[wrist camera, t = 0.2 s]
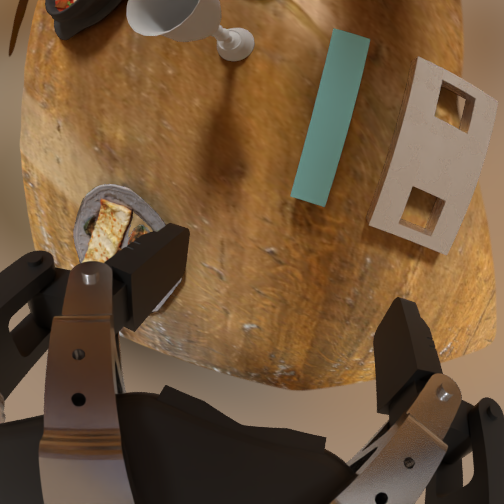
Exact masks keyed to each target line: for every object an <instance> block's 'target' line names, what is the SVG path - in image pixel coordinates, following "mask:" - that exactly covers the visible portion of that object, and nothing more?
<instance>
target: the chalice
mask: <svg viewBox="0 0 504 504" xmlns="http://www.w3.org/2000/svg"><path fill="white" fill-rule="evenodd" d="M127 19H128V22H129V25H130V26H131V27H132V28H133V29H134V31H135V32H137V33H140V34H142V35H144V36H157V35H163V36H165V37H168V38H170V39H173V40H175V41H180V42H189V41H195V40H200V39H204V38H206V37H208V36H210V35H211V36H213V37H215V38H216V39H217V50H218V53H219V55H220V56H221V57H222V58H224V59H226V60H228V61H239V60H242V59H244V58H246V57H247V56H248V55H250V53H251V52H252V50H253V47H254V38H253V36H252V34H251V33H250V32H249V31H247V30H245V29H243V28H232V29H225V28H222V26H221V25H220V21H221V7H220V2H219V0H128V4H127Z"/></svg>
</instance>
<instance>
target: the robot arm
mask: <svg viewBox="0 0 504 504" xmlns="http://www.w3.org/2000/svg"><path fill="white" fill-rule="evenodd" d="M189 236H190V232H189V229H188V228H185V227H182V226H179V225H176V224H172V223H169V224H167V225H166V226H164V227H163V228H162V229H160V230H159V231H157V232H156V231H153V232H149V233H146V234H143V235H141V236H140V237H138V238H137V239H136V240H134V242H131V243H130V244H129V245H127V247H124V248H123V249H122V250H120V251H119V252H117V253H116V254H115V255H113V256H112V257H111V258H109V259H108V260H107V261H105V262H104V263H102V262H98V261H87V262H83V263H80V264H78V265H76V266H75V267H74V268H73V269H72V270H66V269H61V268H56V267H55V265H54V259H53V256H52V255H51V254H50V253H49V252H46V251H33V252H30V253H27V254H25V255H24V256H22V257H21V258H19V259H18V260H17V261H15V262H14V263H13V264H11V265H10V266H8V267H7V268H6V269H5V270H3V271H2V272H1V273H0V504H415V502H416V501H417V500H418V498H419V497H420V495H421V494H422V492H423V491H424V489H425V488H426V495H425V504H504V415H503V412H502V410H501V408H500V406H499V405H498V404H497V403H496V402H495V401H494V400H493V399H491V398H483V399H481V400H480V401H479V402H478V403H477V404H476V405H475V406H473V405H471V404H469V403H467V402H465V401H463V400H462V395H461V391H460V389H459V387H458V385H457V384H456V382H455V381H454V380H453V379H451V378H450V377H449V376H447V375H445V374H443V373H442V369H441V365H440V361H439V358H438V354H437V351H436V349H435V344H434V341H433V340H432V339H433V338H432V335H431V332H430V329H429V327H428V326H427V324H426V323H425V321H424V320H423V319H422V318H421V317H420V314H419V311H418V308H417V305H416V303H415V302H412V301H409V300H406V299H403V298H400V297H397V298H396V299H395V300H394V301H393V302H392V304H391V306H390V308H389V309H388V311H387V313H386V315H385V316H384V318H383V320H382V321H381V323H380V325H379V326H378V328H377V330H376V332H375V336H374V341H373V345H374V357H375V371H376V391H377V413H381V414H387V415H389V420H388V421H387V422H386V423H385V424H384V425H383V426H382V427H381V428H380V429H379V430H378V432H377V433H376V434H375V435H374V436H373V437H372V438H371V439H370V440H369V442H368V443H367V444H366V445H365V446H364V447H363V448H362V449H361V450H360V451H359V452H358V453H357V454H356V455H355V456H354V457H353V458H352V459H351V460H349V461H348V462H347V463H345V462H344V461H343V460H342V459H340V458H339V457H338V456H336V455H335V454H333V453H331V452H330V451H328V450H326V449H325V442H326V437H322V436H317V435H312V434H308V433H304V432H300V431H296V430H292V429H287V428H268V427H255V426H245V425H241V424H239V423H237V422H236V421H234V420H233V419H231V418H229V417H228V416H226V415H224V414H223V413H221V412H220V411H218V410H217V409H215V408H213V407H212V406H210V405H209V404H208V403H206V402H205V401H202V400H200V399H197V398H195V397H192V396H190V395H188V394H185V393H183V392H180V391H178V390H176V389H174V388H172V387H169V386H167V385H165V387H164V388H163V390H162V392H161V393H160V395H159V394H155V393H147V392H130V393H126V391H125V385H124V379H123V371H122V362H121V352H120V351H121V350H120V337H119V331H120V330H121V329H122V328H123V327H126V328H128V329H130V330H132V331H134V332H135V331H136V330H137V328H138V327H139V326H140V325H141V324H142V323H143V321H144V320H145V319H146V318H147V317H148V316H149V314H150V313H151V312H152V311H153V310H154V309H155V308H156V306H157V305H158V304H159V303H160V302H161V301H162V300H163V298H164V297H165V296H166V295H167V294H168V293H169V292H170V290H171V289H172V288H173V287H174V286H175V285H176V284H177V283H178V281H179V280H180V279H181V278H182V276H183V274H184V271H185V268H186V262H187V253H188V244H189ZM26 303H28V306H29V309H30V312H31V313H30V314H29V315H28V316H26V317H25V318H24V319H23V320H22V321H21V322H20V323H19V324H18V325H17V326H16V327H15V328H14V329H13V330H12V331H11V332H9V328H8V325H9V321H10V319H11V317H12V316H13V315H14V314H15V313H16V312H17V311H18V310H19V309H21V308H22V307H23V306H24V305H25V304H26ZM47 349H48V356H47V366H46V378H45V393H44V415H40V416H36V417H31V418H26V419H21V420H16V421H11V422H6V423H4V422H5V414H4V412H3V411H4V401H5V400H6V399H7V397H8V396H9V395H10V393H11V392H12V391H13V390H14V388H15V387H16V386H17V385H18V383H19V382H20V381H21V380H22V378H23V377H24V376H25V375H26V374H27V373H28V371H29V370H30V369H31V368H32V367H33V366H34V364H35V363H36V362H37V361H38V360H39V359H40V357H41V356H42V355H43V354H44V353H45V352H46V350H47ZM472 451H473V462H474V475H473V478H472V480H471V481H470V482H469V484H467V485H466V486H464V487H463V471H462V458H463V457H465V456H466V455H467V454H469V453H470V452H472Z"/></svg>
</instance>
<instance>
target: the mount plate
mask: <svg viewBox="0 0 504 504" xmlns="http://www.w3.org/2000/svg"><path fill="white" fill-rule="evenodd" d="M441 86H442V87H444V88H446V89H448V90H450V91H452V92H454V93H455V94H457V95H459V96H461V97H463V98H464V99H466V101H465V106H464V111H463V115H462V119H461V123H460V127H459V129H457V128H456V127H454V126H452V125H450V124H448V123H446V122H444V121H442V120H440V119H438V118H436V117H434V114H435V110H436V106H437V102H438V98H439V93H440V88H441ZM497 106H498V101H496V100H495V99H494V98H492V97H490V96H489V95H488V94H486V93H485V92H483V91H482V90H480V89H478V88H477V87H475V86H474V85H472V84H470V83H469V82H467V81H465V80H463V79H462V78H460V77H458V76H456V75H455V74H453V73H451V72H449V71H447V70H445V69H443V68H441V67H439V66H437V65H435V64H433V63H431V62H429V61H427V60H425V59H423V58H421V57H417V58H415V59H414V60H413V61H412V62H411V67H410V71H409V76H408V81H407V85H406V89H405V93H404V98H403V102H402V106H401V109H400V113H399V117H398V121H397V124H396V128H395V131H394V135H393V138H392V142H391V145H390V148H389V152H388V155H387V158H386V161H385V164H384V168H383V171H382V174H381V177H380V180H379V183H378V186H377V189H376V191H375V194H374V197H373V200H372V203H371V205H370V208H369V211H368V214H367V216H366V219H367V222H368V225H369V226H372V227H375V228H378V229H380V230H383V231H386V232H388V233H391V234H394V235H396V236H399V237H402V238H404V239H407V240H410V241H412V242H415V243H417V244H420V245H422V246H425V247H427V248H430V249H432V250H435V251H437V252H439V253H442V254H444V255H447V254H448V252H449V250H450V248H451V246H452V243H453V241H454V239H455V237H456V235H457V232H458V230H459V228H460V226H461V223H462V221H463V219H464V216H465V214H466V211H467V209H468V206H469V204H470V201H471V198H472V196H473V193H474V190H475V187H476V184H477V181H478V178H479V175H480V172H481V169H482V166H483V163H484V159H485V156H486V153H487V149H488V145H489V141H490V138H491V133H492V129H493V125H494V120H495V116H496V110H497ZM412 186H414V187H416V188H419V189H421V190H423V191H425V192H428V193H430V194H432V195H434V196H436V197H437V199H436V202H435V204H434V207H433V209H432V212H431V214H430V217H429V219H428V222H427V224H426V226H425V228H422V227H420V226H418V225H415V224H413V223H410V222H408V221H405V220H403V219H400V218H401V216H402V213H403V211H404V208H405V205H406V203H407V200H408V197H409V195H410V192H411V189H412Z"/></svg>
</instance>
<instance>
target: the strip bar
mask: <svg viewBox="0 0 504 504" xmlns="http://www.w3.org/2000/svg"><path fill="white" fill-rule="evenodd" d="M369 43H370V39H368V38H365V37H362V36H359V35H356V34H352V33H349V32H345V31H342V30H338V29H334V28H333V33H332V37H331V41H330V45H329V49H328V54H327V58H326V62H325V66H324V70H323V74H322V78H321V82H320V86H319V90H318V94H317V98H316V102H315V106H314V110H313V113H312V117H311V121H310V125H309V129H308V133H307V136H306V140H305V144H304V148H303V151H302V155H301V159H300V163H299V166H298V170H297V174H296V177H295V181H294V185H293V188H292V192H291V195H290V196H291V197H294V198H297V199H301V200H304V201H307V202H310V203H313V204H316V205H320V206H323V207H325V205H326V201H327V198H328V195H329V192H330V189H331V186H332V182H333V179H334V176H335V173H336V169H337V166H338V163H339V159H340V156H341V153H342V149H343V146H344V142H345V139H346V135H347V131H348V128H349V124H350V121H351V117H352V113H353V109H354V106H355V102H356V98H357V94H358V90H359V86H360V82H361V78H362V74H363V70H364V65H365V61H366V57H367V52H368V48H369Z"/></svg>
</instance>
